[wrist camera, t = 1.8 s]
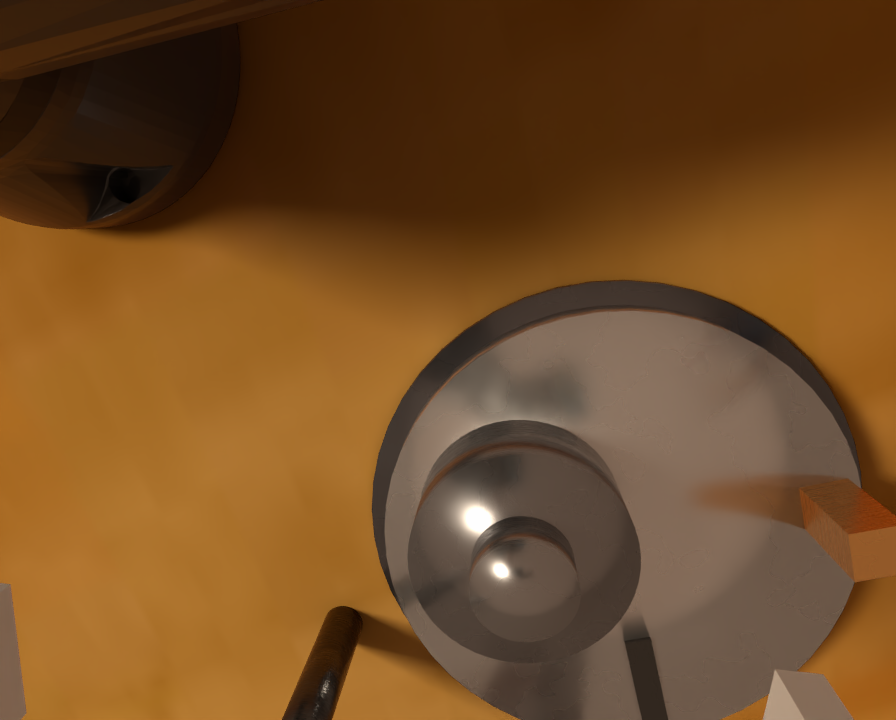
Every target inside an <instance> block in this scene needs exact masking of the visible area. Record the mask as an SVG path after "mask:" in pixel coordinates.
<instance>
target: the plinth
mask: <svg viewBox="0 0 896 720" xmlns="http://www.w3.org/2000/svg"><path fill="white" fill-rule="evenodd" d="M606 305H636V306H648V307H659V308H663V309H668V310H673V311H677V312H682V313H686V314H690V315H693V316H696V317H699V318H701V319H704V320H707V321H710V322H712V323H715V324H718V325H720V326H722V327H724V328H726V329H728V330H730V331H732V332H734V333H736V334H737V335H739V336H741V337H743V338H745V339H747V340H749V341H751V342H753V343H754V344H756V345H758V346H760V347H762V348H764V349H765V350H766V351H768V352H769V353H771V354H772V355H773V356H775V357H776V358H778V359H779V360H780V361H782V362H783V363H785V364H786V365H787V366H789V367H790V368H791V369H792V370H793V371H794V372H795V373H796V374H797V375H798V376H799V377H800V378H802V379H803V380H804V381H805V382H806V383H807V384H808V385H809V386H810V387H811V388H812V389H813V390H814V392H815V393H816V394H817V395H818V397H819V398H820V399H821V401H822V402H823V403H824V404H825V406H826V407H827V408H828V410H829V411H830V412H831V413H832V415H833V417H834V419H835V420H836V422H837V424H838V426H839V428H840V429H841V431H842V433H843V435H844V436H845V438H846V440H847V442H848V445H849V448H850V451H851V453H852V456H853V459H854V461H855V464H856V467H857V470H858V475H859V480H860V484H861V471H860V466H859V461H858V456H857V452H856V447H855V442H854V440H853V437H852V434H851V432H850V429H849V426H848V423H847V421H846V418H845V415H844V413H843V411H842V409H841V408H840V406H839V404H838V402H837V400H836V399H835V397H834V395H833V393H832V391H831V390H830V388H829V386H828V385H827V384H826V382H825V381H824V380H823V378H822V377H821V376H820V375H819V373H818V372H817V371H816V369H815V368H814V367H813V365H812V364H811V363H810V362H809V360H807V359H806V358H805V357H804V356H803V355H802V354H801V353H800V352H799V351H798V350H797V349H796V348H795V347H794V346H793V345H792V344H791V343H790V342H789V341H788V340H787V339H786V338H784V337H783V336H782V335H780V334H779V333H777V332H776V331H775V330H773V329H772V328H770V327H769V326H768V325H766V324H765V323H763V322H762V321H761V320H759V319H758V318H756V317H754V316H752V315H750V314H748V313H746V312H744V311H743V310H741V309H739V308H737V307H735V306H733V305H731V304H729V303H727V302H725V301H722V300H719V299H716V298H714V297H711V296H708V295H705V294H702V293H700V292H697V291H694V290H690V289H686V288H681V287H677V286H672V285H667V284H663V283H656V282H644V281H632V280H612V281H591V282H585V283H579V284H573V285H568V286H562V287H557V288H553V289H550V290H547V291H544V292H540V293H537V294H534V295H531V296H528V297H524V298H522V299H520V300H518V301H516V302H514V303H511V304H509V305H507V306H505V307H503V308H500V309H498V310H496V311H494V312H492V313H491V314H489V315H488V316H486V317H484V318H483V319H481V320H480V321H478V322H476V323H475V324H473V325H472V326H470V327H468V328H467V329H466V330H464V331H463V332H462V333H461V334H459V335H458V336H457V337H456V338H455V339H453V340H452V341H451V342H450V343H449V344H447V345H446V346H445V347H444V348H443V349H441V351H440V352H439V353H438V354H437V355H436V356H435V357H434V358H433V359H432V360H431V361H430V362H429V364H428V365H427V366H426V367H425V368H424V369H423V370H422V371H421V372H420V374H419V375H418V376H417V378H416V379H415V381H414V382H413V384H412V385H411V387H410V388H409V389H408V391H407V392H406V394H405V395H404V397H403V398H402V400H401V402H400V404H399V406H398V408H397V410H396V412H395V414H394V416H393V418H392V420H391V422H390V424H389V426H388V428H387V431H386V434H385V437H384V440H383V443H382V446H381V449H380V452H379V455H378V460H377V466H376V471H375V476H374V481H373V499H372V515H373V526H374V537H375V542H376V546H377V550H378V554H379V559H380V563H381V566H382V569H383V571H384V574H385V576H386V579H387V582H388V584H389V587H390V590H391V591H392V593H393V595H394V597H395V599H396V601H397V602H398V604H399V606H400V608H401V610H402V607H401V605H400V602H399V600H398V597H397V594H396V592H395V589H394V587H393V583H392V579H391V575H390V571H389V566H388V562H387V556H386V544H385V533H384V531H385V513H386V502H387V497H388V492H389V487H390V482H391V477H392V474H393V472H394V469H395V466H396V463H397V460H398V457H399V455H400V452H401V449H402V447H403V444H404V442H405V439H406V437H407V435H408V433H409V431H410V429H411V427H412V425H413V424H414V422H415V420H416V418H417V416H418V414H419V412H420V411H421V409H422V408H423V406H424V405H425V404H426V402H427V401H428V399H429V398H430V397H431V395H432V394H433V392H434V391H435V390H436V388H437V387H438V386H439V385H440V384H441V383H442V382H443V381H444V380H445V379H446V378H447V377H448V376H449V375H450V374H451V372H452V371H453V370H454V369H455V368H456V367H458V366H459V365H460V364H461V363H462V362H464V361H465V360H466V359H467V358H469V357H470V356H471V355H472V354H473V353H475V352H476V351H477V350H478V349H480V348H482V347H483V346H485V345H486V344H488V343H490V342H491V341H493V340H495V339H496V338H498V337H499V336H501V335H503V334H504V333H506V332H509V331H511V330H513V329H515V328H517V327H520V326H522V325H524V324H526V323H529V322H531V321H533V320H536V319H540V318H543V317H546V316H549V315H553V314H556V313H559V312H562V311H568V310H574V309H580V308H586V307H591V306H606ZM861 489H862V486H861ZM402 612H403V610H402ZM403 613H404V612H403ZM404 615H405V614H404ZM405 616H406V615H405ZM406 618H407V617H406Z"/></svg>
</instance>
